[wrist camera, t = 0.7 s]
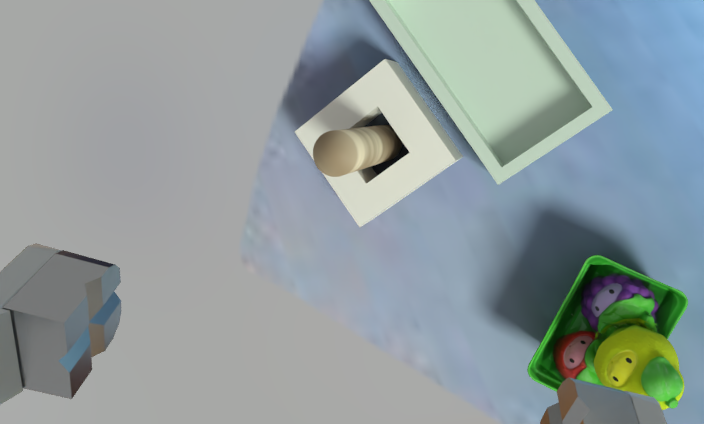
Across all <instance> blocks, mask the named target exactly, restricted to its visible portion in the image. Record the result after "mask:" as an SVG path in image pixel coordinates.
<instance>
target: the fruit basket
mask: <svg viewBox="0 0 704 424" xmlns="http://www.w3.org/2000/svg"><path fill="white" fill-rule="evenodd" d="M687 305H688V299H687V297H686V296H685V294H684V293H683V292H681V291H679V290H677V289H675V288H672V287H670V286H668V285H665V284H663V283H661V282H659V281H656V280H654V279H652V278H650V277H647V276H645V275H643V274H641V273H638V272H636V271H634V270H632V269H629V268H627V267H625V266H623V265H621V264H618V263H616V262H614V261H612V260H610V259H608V258H606V257H603V256H600V255H594V256H591V257H589V258H588V259H586V261H585V262H584V264H583V266H582V268H581V270H580V272H579V274H578V276H577V278H576V280H575V282H574V283H573V285H572V287H571V289H570V291H569V293H568V295H567V296H566V298H565V300H564V301H563V303H562V305H561V307H560V309H559V311H558V312H557V314H556V316H555V318H554V320H553V321H552V324H551V325H550V326H549V329H548V331H547V333H546V335H545V336H544V338H543V340H542V342H541V344H540V345H539V347H538V349H537V351H536V353H535V354H534V356H533V358H532V360H531V361H530V363H529V366H528V374H529V376H530V377H531V378H532V379H533V380H534V381H536V382H538V383H540V384H542V385H544V386H546V387H548V388H550V389H552V390H554V391H556V392H557V390H558V389H559V387H560V385H561V384H562V382H563V381H564V380H566V379H567V378H568V377H569V378H573V379H577V380H581V381H586V382H590V383H594V384H598V385H602V386H606V387H611V388H615V389H619V390H622V391H628V392H633V393H637V394H641V395H645V396H650V397H654V398H655V399H656V400H657V401H658V402H659V404H660V406H661V409H662V410H664V409H667V408H669V407H670V408H675V407H677V405H678V401H679V399H680V398H681V396H682V394H683V391H684V381H683V377H682V375H681V373H680V371H679V362H678V358H677V354H676V352H675V350H674V348H673V346H672V345H671V343H670V342H669V341H668V340H667V339H668V338H669V336H670V334H671V333H672V331H673V329H674V328H675V326H676V324H677V323H678V321H679V320H680V318H681V316H682V315H683V313H684V311H685V310H686V308H687Z"/></svg>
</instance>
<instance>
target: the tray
mask: <svg viewBox="0 0 704 424" xmlns="http://www.w3.org/2000/svg"><path fill="white" fill-rule="evenodd" d="M369 1H370V2H371V3H372V5H373V6H374V8H375V9H376V11H377V12H378V14H379V15H380V16H381V18H382V19H383V21H384V22H385V24H386V25H387V26H388V28H389V29H390V31H391V32H392V34H393V35H394V36H395V38H396V39H397V41H398V42H399V44H400V45H401V46H402V48H403V49H404V51H405V52H406V54H407V55H408V56H409V58H410V59H411V61H412V62H413V64H414V65H415V66H416V68H417V69H418V71H419V72H420V74H421V75H422V77H423V78H424V79H425V81H426V82H427V84H428V85H429V87H430V88H431V89H432V91H433V92H434V94H435V95H436V97H437V98H438V99H439V101H440V102H441V104H442V105H443V107H444V108H445V109H446V111H447V112H448V114H449V115H450V117H451V118H452V119H453V121H454V122H455V124H456V125H457V127H458V128H459V130H460V131H461V132H462V134H463V135H464V137H465V138H466V140H467V141H468V142H469V144H470V145H471V147H472V148H473V150H474V151H475V152H476V154H477V155H478V157H479V158H480V160H481V161H482V162H483V164H484V165H485V167H486V168H487V170H488V171H489V172H490V174H491V175H492V177H493V178H494V180H495V181H496V183H497V184H498V185H499V184H500V183H502V182H503V181H505V180H506V179H508V178H509V177H511V176H512V175H514V174H516V173H517V172H519V171H520V170H522V169H523V168H525V167H526V166H528V165H529V164H531V163H532V162H534V161H535V160H537V159H538V158H540V157H541V156H543V155H545V154H546V153H548V152H549V151H551V150H552V149H554V148H555V147H557V146H558V145H560V144H561V143H563V142H564V141H566V140H567V139H569V138H570V137H572V136H574V135H575V134H577V133H578V132H580V131H581V130H583V129H584V128H586V127H587V126H589V125H590V124H592V123H593V122H595V121H596V120H598V119H599V118H601V117H603V116H604V115H606V114H607V113H609V112H610V111H612V108H611V107H610V105H609V104H608V103H607V101H606V100H605V98H604V97H603V96H602V94H601V93H600V91H599V90H598V89H597V87H596V86H595V84H594V83H593V82H592V80H591V79H590V77H589V76H588V75H587V73H586V72H585V70H584V69H583V68H582V66H581V65H580V63H579V62H578V61H577V59H576V58H575V56H574V55H573V54H572V52H571V51H570V49H569V48H568V47H567V45H566V44H565V42H564V41H563V40H562V38H561V37H560V35H559V34H558V33H557V31H556V30H555V28H554V27H553V26H552V24H551V23H550V21H549V20H548V19H547V17H546V16H545V14H544V13H543V12H542V10H541V9H540V7H539V6H538V5H537V3H536V2H535V0H369Z"/></svg>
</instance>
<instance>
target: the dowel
mask: <svg viewBox="0 0 704 424" xmlns="http://www.w3.org/2000/svg"><path fill="white" fill-rule="evenodd" d="M401 148H402V141H401V139H400V138H399V136H398V135H397V134H396V132H395V131H394V129H393V128H392V126H389V125H378V126H369V127H360V128H351V129H342V130H333V131H328V132H325V133H323V134H322V135H321V136H320V137H319V138H318V139H317V140H316V142H315V144H314V148H313V158H314V162H315V164H316V166H317V167H318V169H319V170H320V171H321V172H322V173H324V174H326V175H328V176H331V177H339V176H343V175H346V174H349V173H352V172H355V171H358V170H361V169H364V168H367V167H370V166H373V165H377V164H380V163H383V162H386V161H389V160H392V159H394V158H395V157H396V156H397V155H398V154H399V153H400V151H401Z"/></svg>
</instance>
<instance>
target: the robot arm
mask: <svg viewBox="0 0 704 424" xmlns="http://www.w3.org/2000/svg"><path fill="white" fill-rule="evenodd" d="M119 284H120V268H119V267H117V266H116V265H115V264H111V263H107V262H104V261H100V260H96V259H93V258H89V257H86V256H82V255H78V254H75V253H71V252H67V251H64V250H62V251H61V250H57V249H54V248H50V247H47V246H43V245H40V244H33V245H30V246H27V247H26V248H25V249H24V250H23V251H22V252H21V253H20V254H19V255H18V256H16V257H15V258H14V259H13V260H12V261H11V262H10V263H9V264H8V265H7V266H6V267H5V268H4V269H3V270H2V271H1V272H0V404H2V403H3V402H5V401H7V400H9V399H10V398H12V397H14V396H15V395H17V394H19V393H20V392H22V391H23V388H25V389H29V390H34V391H38V392H43V393H47V394H51V395H56V396H61V397H65V398H69V399H72V398H73V397H74V395H75V394H76V392H77V391H78V389H79V388H80V386H81V385H82V383H83V382H84V381H85V379H86V378H87V376H88V375H89V373H90V372H91V370H92V360H91V357H93V356H95V355H97V354H99V353H101V352H104V351H105V350H106V348H107V347H108V345H109V344H110V342H111V341H112V339H113V337H114V334H115V332H116V330H117V327H118V325H119V321H120V315H121V300H120V299H119V297H118V296H117V295H116V293H115V292H114V290H115V289H116V288H117V286H118V285H119ZM557 395H558V400H559V403H556V404H554V405H552V406H550V407H548V408H547V409H546V411H545V413H544V415H543V417H542V419H541V422H540V424H667V423H666V420H665V417H664V415H663V412H662V409H661V406H660V404H659V402H658V401H657V400H656V399H655V398H654V397H650V396H645V395H641V394H637V393H633V392H628V391H622V390H619V389H615V388H611V387H606V386H602V385H598V384H594V383H590V382H586V381H581V380H577V379H573V378H569V377H568V378H567V379H566V380H564V381H563V382H562V384H561V385H560V387H559V389H558V390H557Z"/></svg>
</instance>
